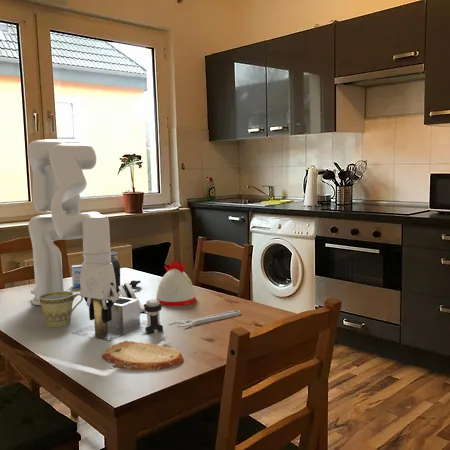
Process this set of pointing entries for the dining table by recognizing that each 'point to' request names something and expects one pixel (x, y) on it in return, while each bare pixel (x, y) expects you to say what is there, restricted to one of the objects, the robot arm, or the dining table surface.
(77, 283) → the medicine box
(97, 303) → the brass pin
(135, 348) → the bread slice
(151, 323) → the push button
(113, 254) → the milk frother
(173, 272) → the kitchen timer
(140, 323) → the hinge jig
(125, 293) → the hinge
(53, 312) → the ceramic cup
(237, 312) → the adjustable wrench
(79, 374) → the dining table surface
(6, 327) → the dining table surface
